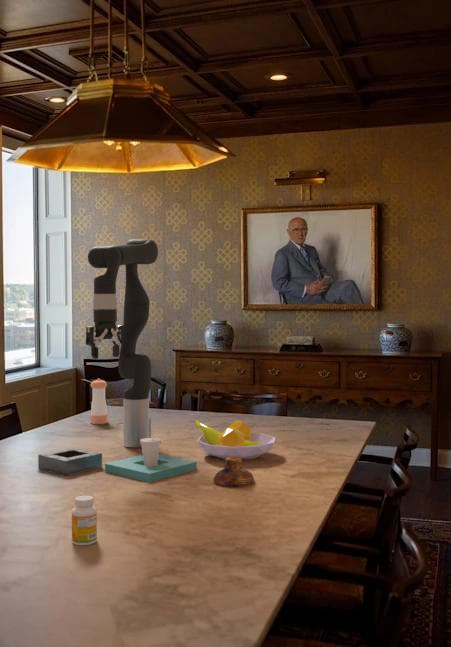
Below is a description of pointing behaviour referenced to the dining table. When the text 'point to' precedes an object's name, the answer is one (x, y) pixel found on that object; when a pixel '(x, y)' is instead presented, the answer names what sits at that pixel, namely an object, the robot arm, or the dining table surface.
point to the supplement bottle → (84, 521)
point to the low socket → (150, 468)
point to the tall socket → (70, 461)
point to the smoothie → (150, 450)
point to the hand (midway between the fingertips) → (105, 357)
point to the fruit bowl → (234, 441)
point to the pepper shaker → (98, 402)
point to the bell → (233, 474)
